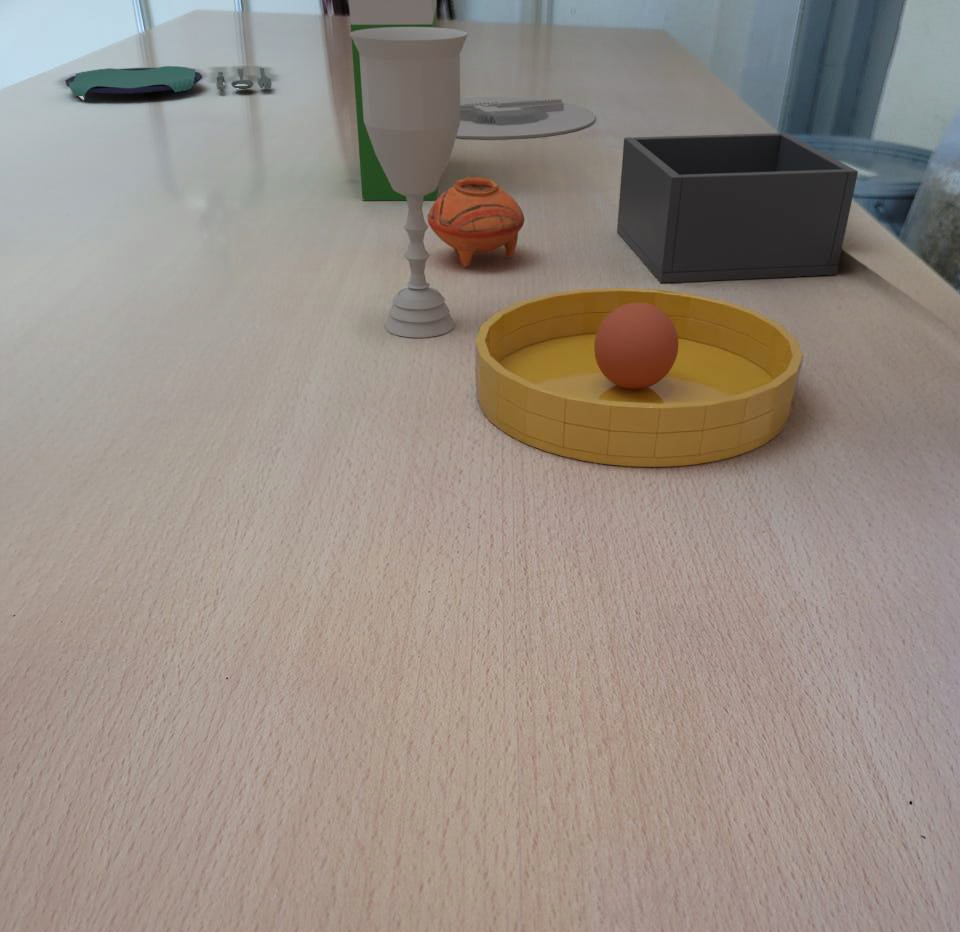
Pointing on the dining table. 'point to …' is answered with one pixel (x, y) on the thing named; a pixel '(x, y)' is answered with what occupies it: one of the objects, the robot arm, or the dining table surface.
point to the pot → (476, 218)
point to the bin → (733, 206)
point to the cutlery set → (148, 80)
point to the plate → (519, 118)
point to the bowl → (636, 412)
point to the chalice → (412, 143)
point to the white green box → (370, 7)
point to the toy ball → (636, 346)
